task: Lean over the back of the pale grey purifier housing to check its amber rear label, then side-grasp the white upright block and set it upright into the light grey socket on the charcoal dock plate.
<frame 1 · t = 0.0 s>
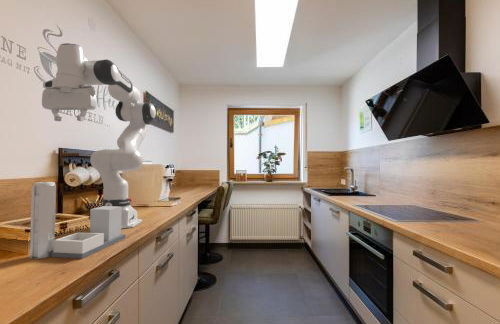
hand: (69, 120, 98), 48 cm above the countertop, tool pointing down, fingers open, 8 cm apart
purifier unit: (79, 252, 90), on the countertop
white upright block: (42, 256, 86), on the countertop
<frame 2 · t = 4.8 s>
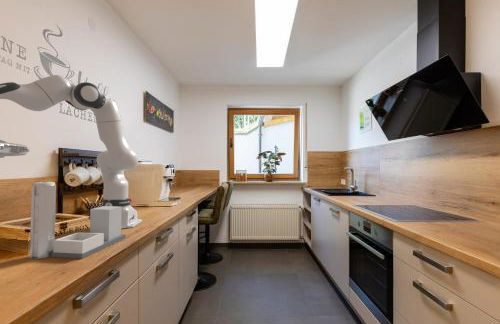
hand: (15, 148, 87), 36 cm above the countertop, tool horizontal, fingers open, 8 cm apart
nothing on the countertop moved.
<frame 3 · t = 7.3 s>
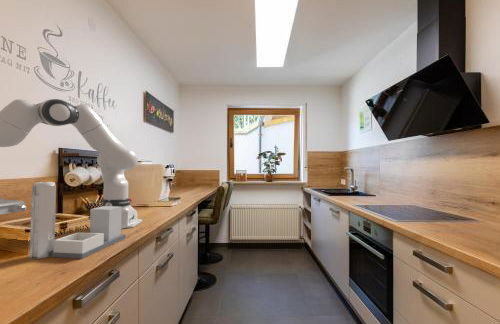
hand: (11, 210, 87), 15 cm above the countertop, tool horizontal, fingers open, 8 cm apart
nothing on the countertop moved.
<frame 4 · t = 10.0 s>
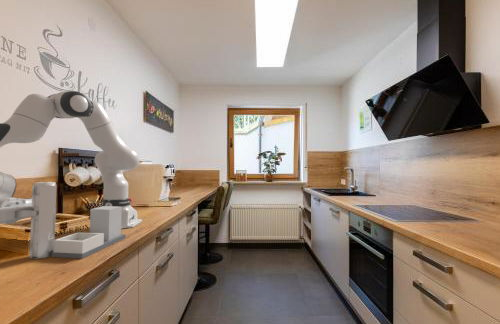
hand: (46, 211, 86), 15 cm above the countertop, tool horizontal, fingers closed on white upright block, 6 cm apart
white upright block: (42, 256, 86), on the countertop, touching gripper
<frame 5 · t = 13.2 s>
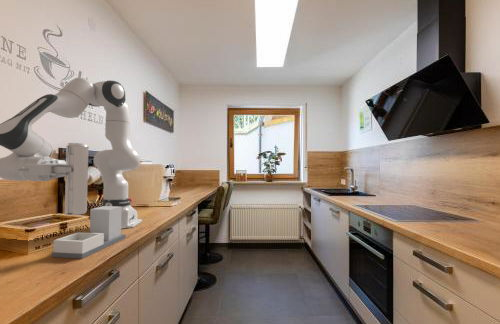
hand: (79, 169, 90), 29 cm above the countertop, tool horizontal, fingers closed on white upright block, 5 cm apart
white upright block: (75, 213, 90), point 14 cm above the countertop, touching gripper
when the fingers open (18 cm above the countertop, at t = 16.2 s): white upright block moves 1 cm, resting on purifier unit.
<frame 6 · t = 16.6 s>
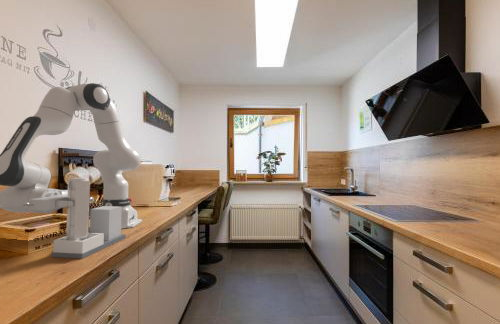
hand: (83, 201, 90), 18 cm above the countertop, tool horizontal, fingers open, 8 cm apart
white upright block: (77, 249, 89), point 1 cm above the countertop, touching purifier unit
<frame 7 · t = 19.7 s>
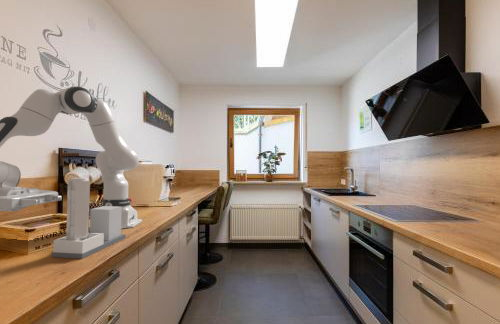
hand: (49, 200, 91), 18 cm above the countertop, tool horizontal, fingers open, 8 cm apart
nothing on the countertop moved.
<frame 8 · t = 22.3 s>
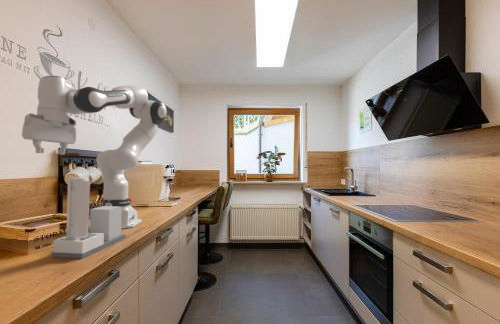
hand: (50, 153, 97), 35 cm above the countertop, tool pointing down, fingers open, 8 cm apart
nothing on the countertop moved.
at the end: white upright block 0.9 cm off-centre on the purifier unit, point 1.3 cm above the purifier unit's base; white upright block tilted 0°; the gripper is holding nothing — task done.
